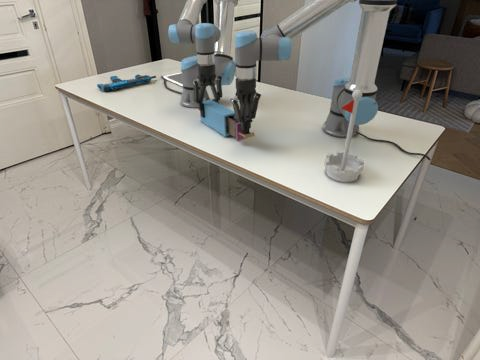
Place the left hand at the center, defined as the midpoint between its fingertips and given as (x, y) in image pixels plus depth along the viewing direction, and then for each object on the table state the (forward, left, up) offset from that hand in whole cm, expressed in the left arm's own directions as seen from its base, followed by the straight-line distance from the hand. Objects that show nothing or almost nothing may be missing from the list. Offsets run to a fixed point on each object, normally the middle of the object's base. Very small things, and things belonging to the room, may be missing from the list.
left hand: (209, 114), depth 156 cm
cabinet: (+8, +1, -3) cm, 8 cm away
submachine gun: (-76, -28, -4) cm, 81 cm away
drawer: (+19, +4, -2) cm, 20 cm away
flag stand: (+62, +28, -4) cm, 68 cm away
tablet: (-68, +9, -4) cm, 68 cm away
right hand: (+28, +6, +1) cm, 29 cm away
